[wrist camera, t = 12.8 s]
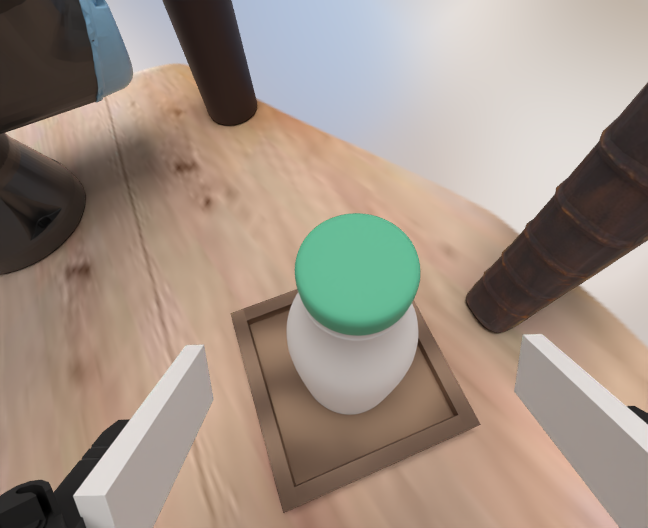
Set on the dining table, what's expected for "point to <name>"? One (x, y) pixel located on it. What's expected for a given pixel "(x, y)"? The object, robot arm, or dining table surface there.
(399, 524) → the dining table surface
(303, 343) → the milk bottle
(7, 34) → the robot arm
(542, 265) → the book
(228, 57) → the vinegar
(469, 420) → the walnut tray
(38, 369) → the dining table surface
